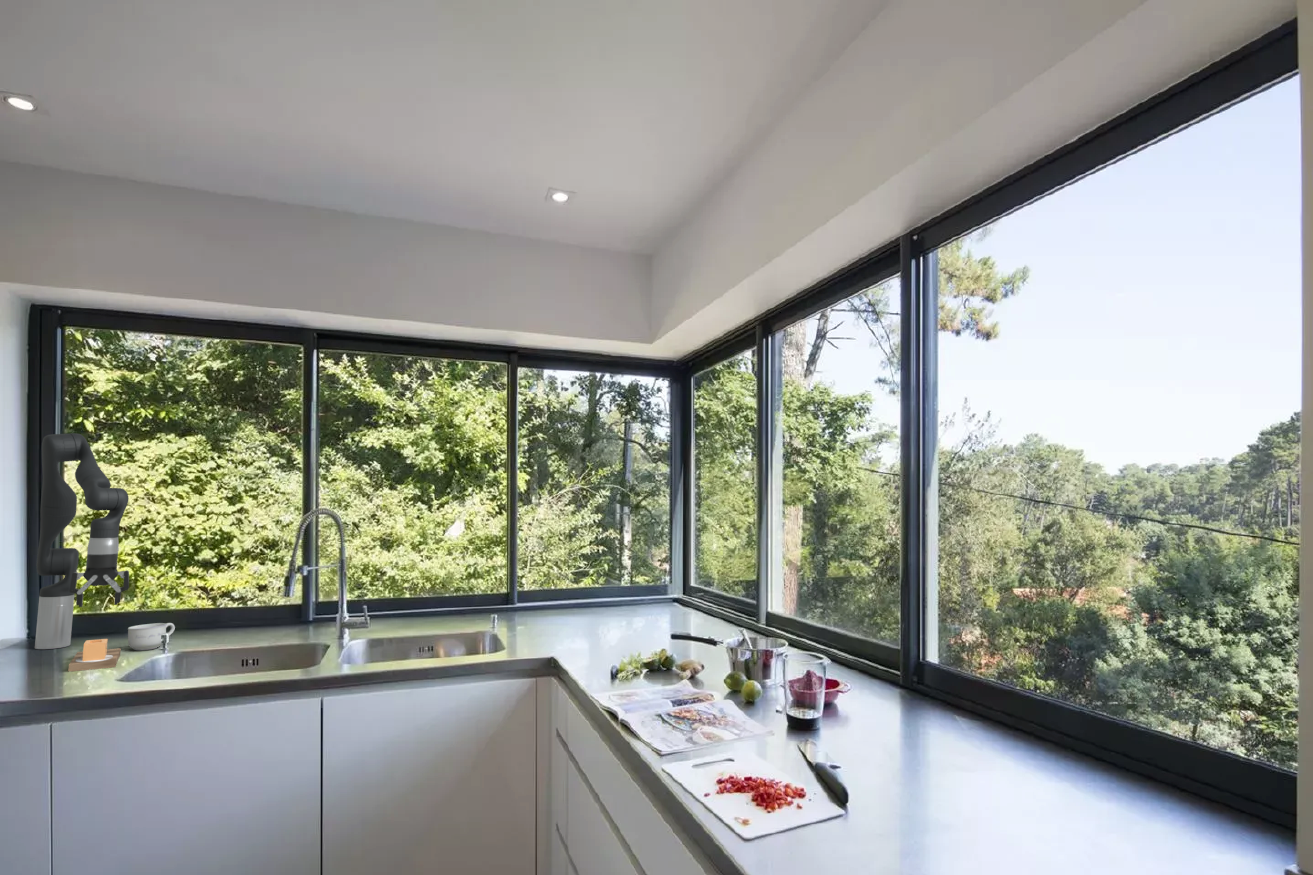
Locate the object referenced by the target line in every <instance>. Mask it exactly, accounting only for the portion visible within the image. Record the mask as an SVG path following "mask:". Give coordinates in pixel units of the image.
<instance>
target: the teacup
mask: <svg viewBox="0 0 1313 875" xmlns="http://www.w3.org/2000/svg"><path fill="white" fill-rule="evenodd" d="M168 627H170V630H169V631H168V632H167V628H168ZM175 628H176V626H175V624H174V623H172V622H167V623H163V622H157V623H155V622H154V623H147V624H139V625H132V626H129V627H128V628H127V630H128V631H127V644H128V646H129V647H130V648H131V649H133V650H134V651H148V650H154V649H158V648H160V647H161V645H162V644H161V635H163V634H168V635H169V636H171V635H172V634H173V633H174V632H175ZM169 636H168V637H169ZM159 646H160V647H159ZM157 647H158V648H157Z"/></svg>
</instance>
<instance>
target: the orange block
mask: <svg viewBox="0 0 1313 875" xmlns="http://www.w3.org/2000/svg"><path fill="white" fill-rule="evenodd" d="M108 640H109V639H108V638H101V639H100V638H99V639H89V640H85V642H84V643H83V650H82V651H83V660H82V661H92V660H103V659H105V657H106V653H107V649H108Z"/></svg>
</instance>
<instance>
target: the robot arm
mask: <svg viewBox="0 0 1313 875" xmlns="http://www.w3.org/2000/svg"><path fill="white" fill-rule="evenodd" d="M75 461H80V462H79V463H78V465H77V467H76V470H75V472H74V479H75V480H76V483H77V484H78V486H80V488H81V489H82V490H83V494H84V495H83V496H84V501H85V505H86V507H87V508H88V509H90V510H92V511H109V512H107V514H106V515H105V516H103V517H98V518H95V519H92V521H91V523H90V530H89V541H88V545H87V551H86V552H87V553H86V554H87V555H86V563H85V564H86V565H85V566H86V567H85V571H84V572H78V565H79V560H80V559H79V557H80V556H79V555H80V554H79V550H78V549H77V548H74V547H63V548H61V547H60V548H52V546H53V543H54V541H55V540H56V539H57V537H58V536H59V535H60V533H62V531H64V530H65V529H66V528H67V526H69V525H70V523H71V522H72V521H73V520H74V519H75V517H76V515H77V506H78V505H77V504H78V503H77V502H78V498H77V493H76V492H75V491H74V490H73V489H72V487H71V486H70V485H69V483H67V482H66V480H64V478H63V477H62V475H61V474H60V471H59V463H63V462H64V463H66V462H75ZM41 465H42V483H41V484H42V488H41V498H40V510H39V511H40V526H39V527H40V529H39V530H40V532H39V540H38V541H39V542H38V547H37V548H38V549H37V554H36V555H37V556H36V557H37V558H36V572H37V574H38V575H39V576H41V577H42V576H43V577H49V576H52V577H53V576H54V577H55V576H64V578H62V579H61V580H59V581H58V582H55V583H52V584H49V585H45V586H43V587H41V588H40V589H39V595H38V596H39V597H38V608H37V609H38V610H37V619H36V620H37V621H36V632H35V640H34V641H35V642H34V649H35V650H52V649H60V648H61V649H62V648H65V647H69V646H71V639H72V627H73V619H74V618H73V616H74V608H75V607H74V604H76V606H78V607H79V608H82V607H83V602H84V593H83V592H85V590H87V589H88V588H89V587H90V586H92V587H99V586H103V587H104V586H111V588H112V589H113V590H114V591H115V592H114V602H113V604H114V606H117V605H118V604H119V603H121V599H122V597H121V596H122V592H124V591H128V590H129V588H130V571H129V570H122V571H118V558H119V551H120V550H119V549H120V548H119V546H120V543H119V534H120V524H121V522H122V521H121V520H122V519H123V515H124V513H125V511H126V509H127V506H128V504H129V494H128V492H127V490H125V488H121V487H111V481H110V479H109V478H108V477H107V475H106V474H105V473H104V471H102V469H101V468H100V466H99V464H98V461H97V460H96V457H95V455H94V452H93V451H92V448H91V447H90V444H89V442H88V440H87V438H86V437H85V436H84V435H82V434H81V433H74V432H72V433H71V432H70V433H54V434H47V435H45V436H44V437H43V438H42V442H41ZM118 576H120V578H121V579H123V586H121V587H120V585H119V584H118V583H117V582H116V581H115V579H116V578H117V577H118ZM82 577H83V578H84V579H85V580H86V582H85V583H84V584H83V585H82V586H81V587H80V588H77V582H78V580H80V579H81V578H82ZM75 595H76V601H75Z"/></svg>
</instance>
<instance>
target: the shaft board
mask: <svg viewBox="0 0 1313 875" xmlns="http://www.w3.org/2000/svg"><path fill="white" fill-rule="evenodd" d="M121 650H122V648H118V647H117V648H110V649H109V648H107V653H106V657H105V659H103V660H92V661H82V660H83V650H82V651H77V652H76V653H75V655H74V657H73V658H72V659H71V661H70V662H69V664H68V670H67V671H68V672H69V671H70V672H76V671H77V672H78V671H90V670H89V669H91V670H100V669H109V668H116V666H117V664H118V662H119V659H120V657H121V654H122V652H121Z"/></svg>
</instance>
